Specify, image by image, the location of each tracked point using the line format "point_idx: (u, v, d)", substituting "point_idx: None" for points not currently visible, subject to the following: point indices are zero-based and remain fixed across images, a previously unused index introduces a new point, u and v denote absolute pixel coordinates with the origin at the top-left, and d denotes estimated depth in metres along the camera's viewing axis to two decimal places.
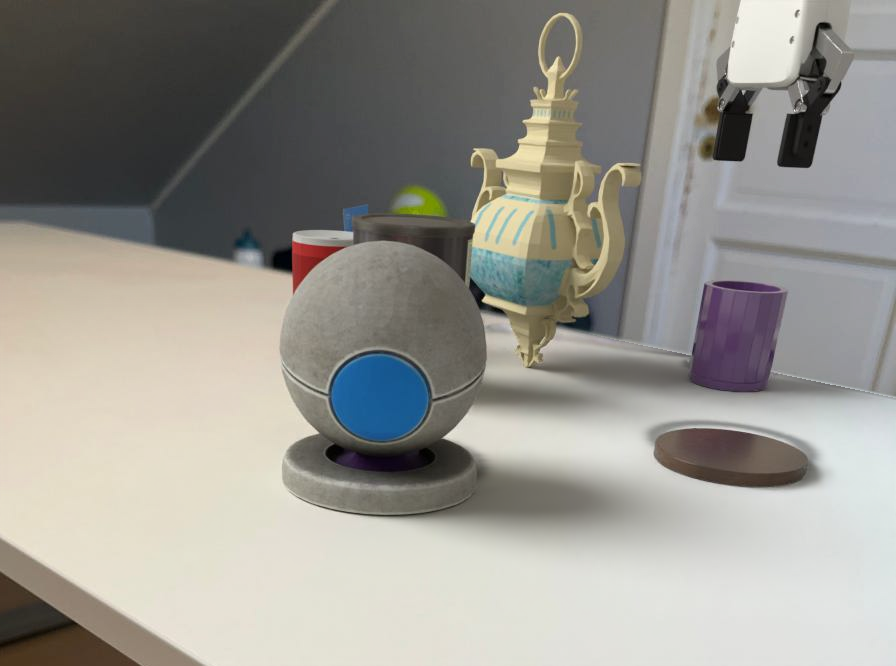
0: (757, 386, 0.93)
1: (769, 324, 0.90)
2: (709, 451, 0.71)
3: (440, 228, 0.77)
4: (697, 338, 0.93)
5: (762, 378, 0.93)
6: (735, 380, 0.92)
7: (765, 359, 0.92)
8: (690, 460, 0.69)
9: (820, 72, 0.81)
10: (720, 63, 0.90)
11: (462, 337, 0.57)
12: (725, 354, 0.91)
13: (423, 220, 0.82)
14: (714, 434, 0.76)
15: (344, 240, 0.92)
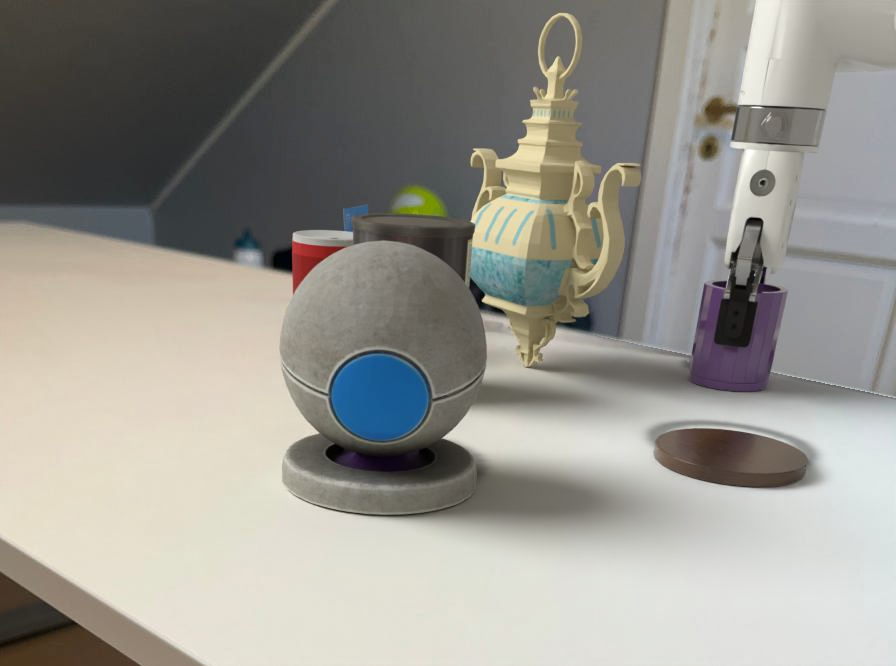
0: (757, 386, 0.93)
1: (769, 324, 0.90)
2: (709, 451, 0.71)
3: (440, 228, 0.77)
4: (697, 338, 0.93)
5: (762, 378, 0.93)
6: (735, 380, 0.92)
7: (765, 359, 0.92)
8: (690, 460, 0.69)
9: (761, 263, 0.87)
10: None
11: (462, 337, 0.57)
12: (725, 354, 0.91)
13: (423, 220, 0.82)
14: (714, 434, 0.76)
15: (344, 240, 0.92)
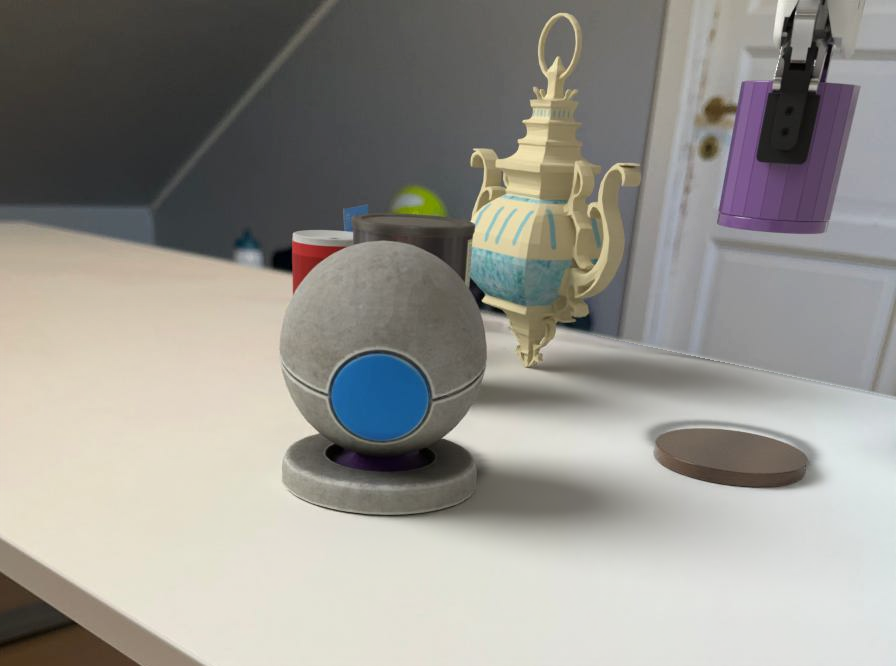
0: (814, 226, 0.67)
1: (833, 132, 0.64)
2: (709, 451, 0.71)
3: (440, 228, 0.77)
4: (731, 161, 0.67)
5: (822, 215, 0.67)
6: (784, 216, 0.66)
7: (827, 186, 0.66)
8: (690, 460, 0.69)
9: (827, 34, 0.61)
10: None
11: (462, 337, 0.57)
12: (771, 178, 0.65)
13: (423, 220, 0.82)
14: (714, 434, 0.76)
15: (344, 240, 0.92)
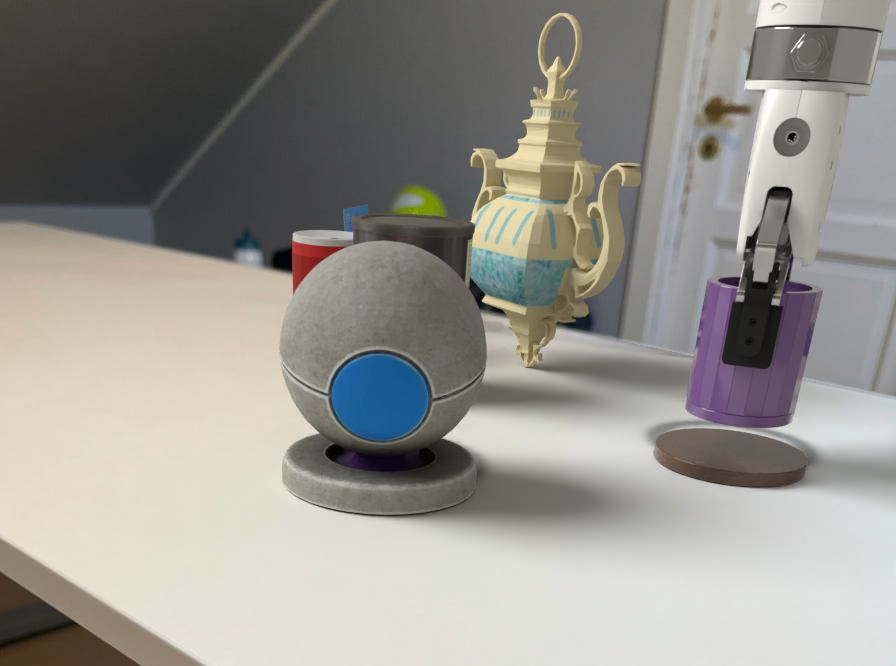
0: (780, 420, 0.68)
1: (797, 336, 0.65)
2: (709, 451, 0.71)
3: (440, 228, 0.77)
4: (698, 354, 0.69)
5: (786, 410, 0.68)
6: (750, 413, 0.67)
7: (791, 384, 0.67)
8: (690, 460, 0.69)
9: (789, 251, 0.62)
10: None
11: (462, 337, 0.57)
12: (736, 377, 0.66)
13: (423, 220, 0.82)
14: (714, 434, 0.76)
15: (344, 240, 0.92)
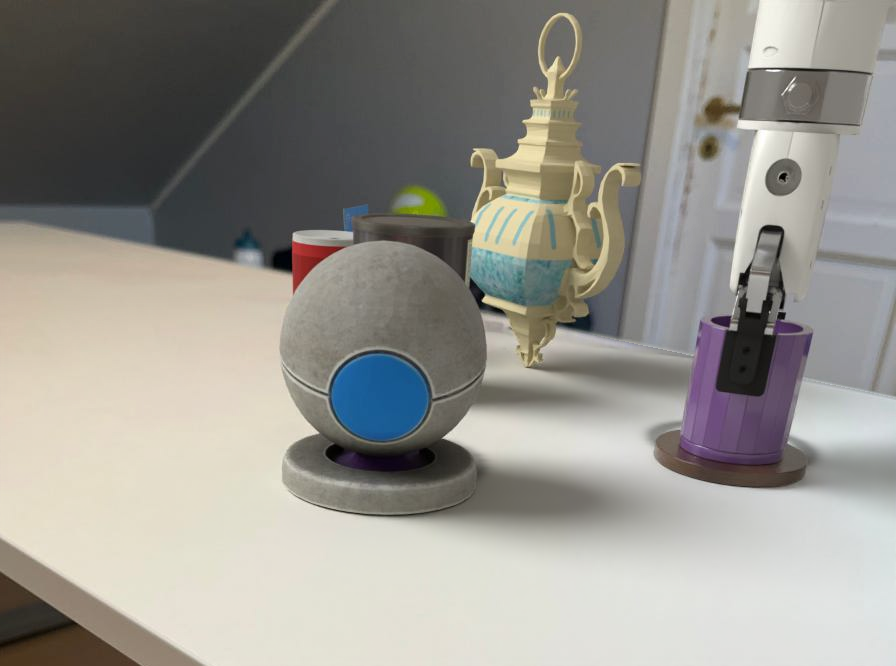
0: (771, 457, 0.69)
1: (788, 377, 0.66)
2: None
3: (440, 228, 0.77)
4: (691, 392, 0.70)
5: (778, 447, 0.69)
6: (742, 450, 0.68)
7: (782, 422, 0.68)
8: (690, 460, 0.69)
9: (782, 283, 0.63)
10: None
11: (462, 337, 0.57)
12: (729, 416, 0.68)
13: (423, 220, 0.82)
14: None
15: (344, 240, 0.92)
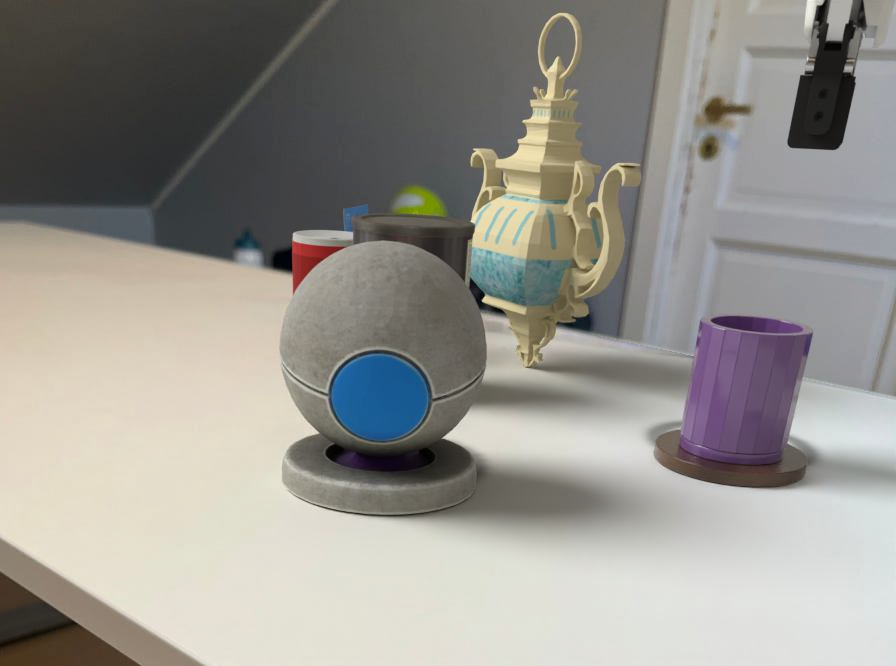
0: (771, 457, 0.69)
1: (788, 377, 0.66)
2: None
3: (440, 228, 0.77)
4: (691, 392, 0.70)
5: (778, 447, 0.69)
6: (742, 450, 0.68)
7: (782, 422, 0.68)
8: (690, 460, 0.69)
9: (862, 16, 0.58)
10: None
11: (462, 337, 0.57)
12: (729, 416, 0.68)
13: (423, 220, 0.82)
14: None
15: (344, 240, 0.92)
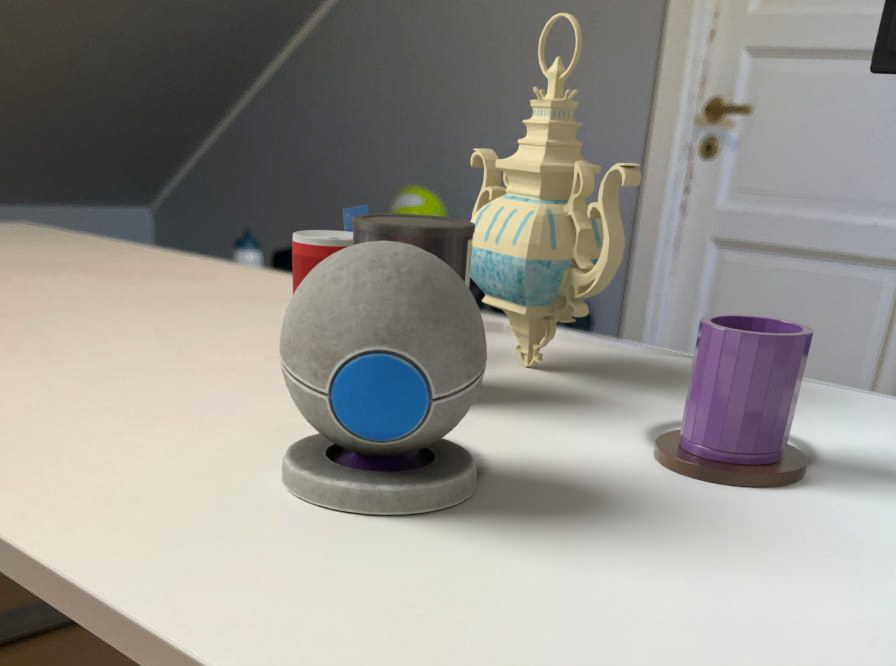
0: (771, 457, 0.69)
1: (788, 377, 0.66)
2: None
3: (440, 228, 0.77)
4: (691, 392, 0.70)
5: (778, 447, 0.69)
6: (742, 450, 0.68)
7: (782, 422, 0.68)
8: (690, 460, 0.69)
9: None
10: None
11: (462, 337, 0.57)
12: (729, 416, 0.68)
13: (423, 220, 0.82)
14: None
15: (344, 240, 0.92)
